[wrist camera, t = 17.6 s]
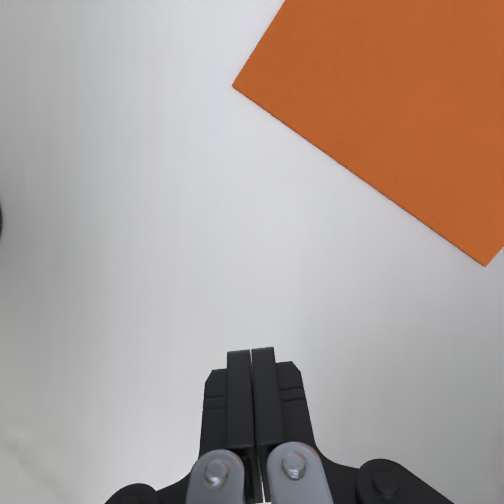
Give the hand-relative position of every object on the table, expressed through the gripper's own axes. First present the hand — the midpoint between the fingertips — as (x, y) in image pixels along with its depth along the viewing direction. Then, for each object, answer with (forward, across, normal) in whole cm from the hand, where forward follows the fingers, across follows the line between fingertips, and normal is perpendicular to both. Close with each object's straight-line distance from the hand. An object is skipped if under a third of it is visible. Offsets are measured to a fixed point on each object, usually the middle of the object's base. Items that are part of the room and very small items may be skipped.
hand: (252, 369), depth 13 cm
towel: (+22, -15, -6) cm, 27 cm away
